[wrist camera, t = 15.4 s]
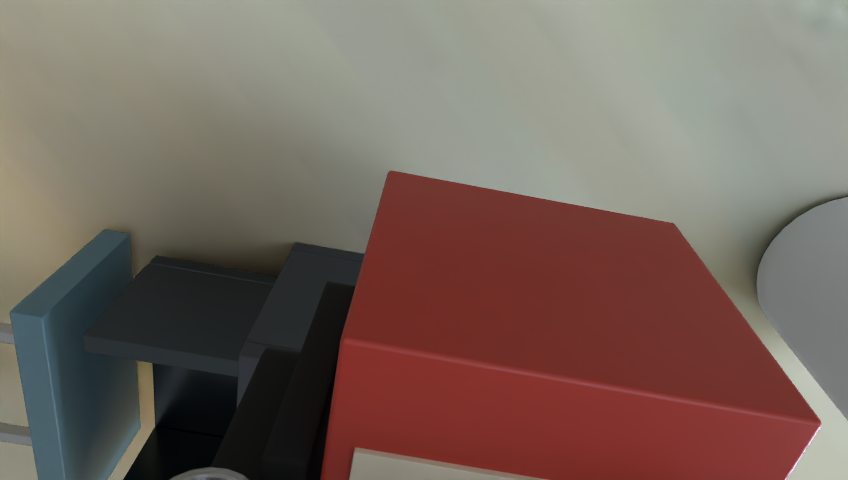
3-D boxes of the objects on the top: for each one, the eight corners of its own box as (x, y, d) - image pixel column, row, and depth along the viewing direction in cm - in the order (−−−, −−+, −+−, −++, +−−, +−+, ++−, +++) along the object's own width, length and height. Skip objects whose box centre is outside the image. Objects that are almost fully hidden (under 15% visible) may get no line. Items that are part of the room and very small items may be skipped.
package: (675, 222, 10) (830, 429, 6) (553, 516, 13) (597, 781, 9) (388, 169, 9) (338, 344, 5) (337, 480, 13) (283, 734, 9)
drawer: (7, 405, 34) (-92, 510, 28) (-32, 205, 28) (-166, 282, 22) (375, 465, 34) (358, 579, 28) (411, 282, 29) (399, 377, 23)
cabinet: (277, 444, 35) (228, 587, 28) (295, 241, 29) (238, 354, 21) (538, 487, 36) (560, 638, 28) (611, 297, 30) (665, 426, 22)
